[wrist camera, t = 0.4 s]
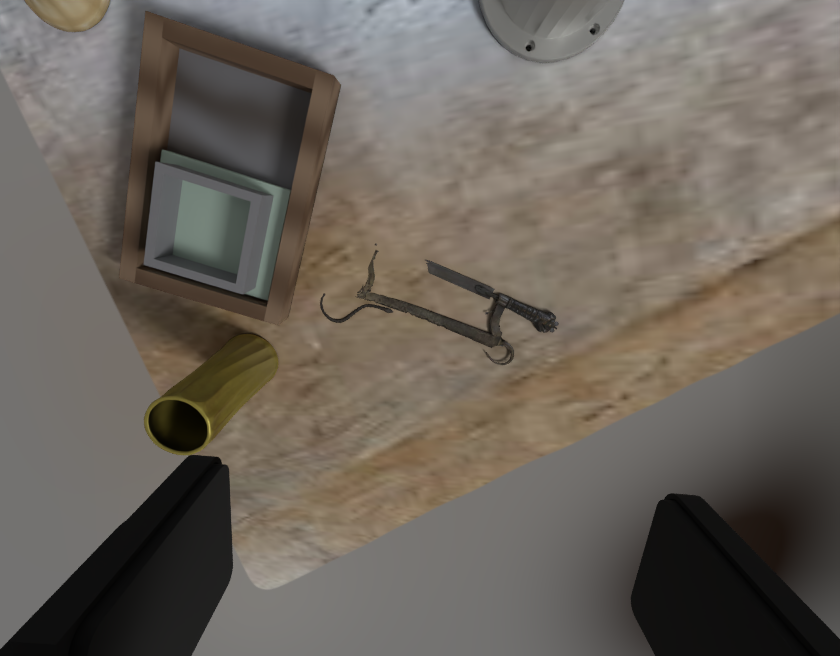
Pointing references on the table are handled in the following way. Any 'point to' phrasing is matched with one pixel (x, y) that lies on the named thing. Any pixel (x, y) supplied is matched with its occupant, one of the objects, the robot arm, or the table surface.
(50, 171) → the table surface
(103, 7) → the hand bell
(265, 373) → the vase
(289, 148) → the open wooden box
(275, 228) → the square serving tray
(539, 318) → the hacksaw
